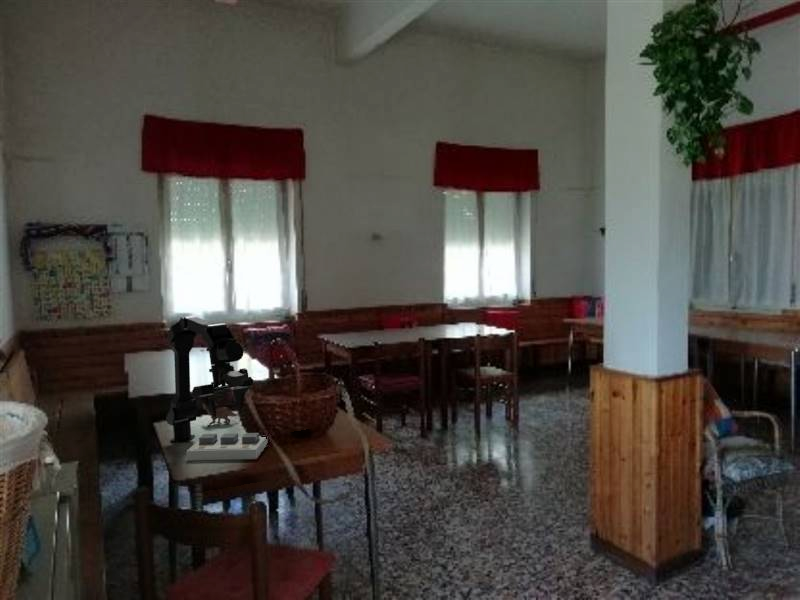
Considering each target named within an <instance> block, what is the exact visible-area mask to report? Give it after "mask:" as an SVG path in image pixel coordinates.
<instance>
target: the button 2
mask: <svg viewBox="0 0 800 600" xmlns="http://www.w3.org/2000/svg"><path fill="white" fill-rule="evenodd" d="M242 436H243V437H242ZM242 436H241V437H242V444H256V443H257V442H258V441H259V436H260V433H259V432H245V434H243V435H242Z"/></svg>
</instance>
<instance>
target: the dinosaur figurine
mask: <svg viewBox="0 0 800 600" xmlns="http://www.w3.org/2000/svg"><path fill="white" fill-rule="evenodd" d="M202 406H203V407H202V408H203V410H205V411H206V412H207V414H208V415H209V416H210V418H211V419H212V421H211V422H209V424H207V426H206V427H211V426H212V425H213V424H218V423H220V422H221V420H222V419H223V420H224V421H223V423H225V425H226V426H230V424H231V419H230V418H229V417H233V418H234V417H237V416H238V415H237V413H235V412H232V410H231V409H229V408H228V407H227V406H219V404H218V403H217V402H215V408H216V417H213V416H212V414H211V413H210V411H209V410H208V408H207V407H206V405H205V404H204V403H203V402H202ZM217 419H218V420H217ZM216 420H217V421H216Z"/></svg>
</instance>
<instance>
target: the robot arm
mask: <svg viewBox="0 0 800 600" xmlns="http://www.w3.org/2000/svg"><path fill="white" fill-rule="evenodd" d="M166 335H167V337H166V338H167V342H168V345H169V347H170V349H171V350H172V352H173V355H174V384H175V385H174V386H175V390H174V392H175V394H174V396H173V398H172V399H171V401H170V409H169V410H168V412H167V414H166V418H165V420H166V423H167V424H168V425H170V426H172V429H173V430H172V431H173V438H171V439H170V440H169V442H170V443H173V442H172V441H181V442H180V443H182V442H184V443H185V442H190V441H191V440H192V439H194V438H195V436H196V435H195V434H192V429H191V428H192V427H191V422H193V421H194V422H195V421H197V415H198V407H197V400H196V399H200V401H201V402H202V404H203V403H204V404H205V405H206V407H207V408H208V410H209V411H210V413H211V414H212V416H213V417H216V408H217V407H216V406H215V403H216V402H215V398H216V395H217V394H216V393H214V392H216V391H220V390H221V391H222V390H227V389H231V388H233V389H232V391H233V392H232V393H233V395H234V400H235V404H236V407H237V411H238V412H242V411H243V405H244V401H245V396H246V394H247V392H248V390H249V389H251V387H252V386H254V385H255V382H254V379H253V378H252V376H249V372H248V369H247V368H245V367H243V368H240V369H239V370H235V367H234V365H231V363H233V362H238V361H240V360H241V359H242V358H243V356H244V353H245V352H244V348H243V346H242V345H241V344H240V343H238V342H237V339H236V337H235V335H234V334H233V333H232V331H231V329H230V328H229V326H228V325H227V324H226V323H225V322H210V321H207V320H206V319H202V318H200V317H198V316H197V315H186V316H184V315H183V316H181V317H180V318H179V320H178V321H177V322H176V323H174V324H172V325H171V326H170V328H169V330H168V332H167V334H166ZM198 335H199V336H201V339H202V340H203V342H205V343H206V344H207V345H208V346H207V348H206V352H208V354H209V362H210V368H209V369H208V372H209V373H211V375H212V382H210V383H209V384H202V385H197V386H193V389H192V391H191V376H190V375H191V372H190V371H191V369H190V352H191V350H193V347H194V346H195V338H196V337H197V336H198ZM191 392H192V395H191ZM194 397H196V399H195V398H194Z"/></svg>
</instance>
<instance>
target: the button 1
mask: <svg viewBox="0 0 800 600" xmlns="http://www.w3.org/2000/svg"><path fill="white" fill-rule="evenodd" d="M217 437H218V433H203V434H202V435H201V436H200V437H198V441H199V445H213V444H214V443H216V442H217Z"/></svg>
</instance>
